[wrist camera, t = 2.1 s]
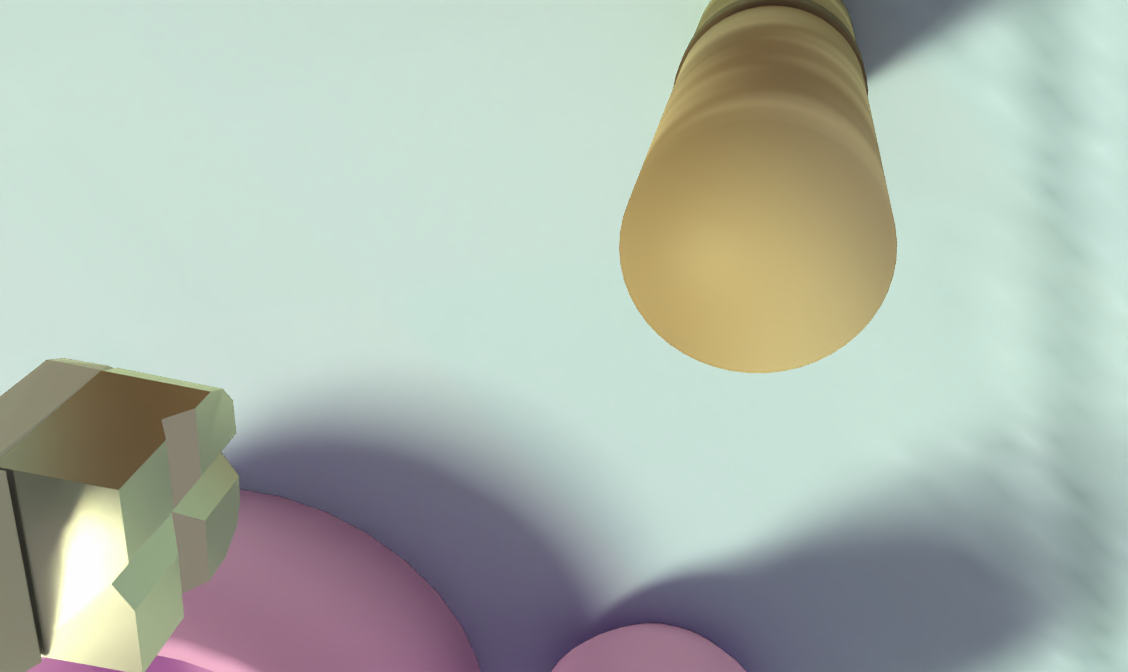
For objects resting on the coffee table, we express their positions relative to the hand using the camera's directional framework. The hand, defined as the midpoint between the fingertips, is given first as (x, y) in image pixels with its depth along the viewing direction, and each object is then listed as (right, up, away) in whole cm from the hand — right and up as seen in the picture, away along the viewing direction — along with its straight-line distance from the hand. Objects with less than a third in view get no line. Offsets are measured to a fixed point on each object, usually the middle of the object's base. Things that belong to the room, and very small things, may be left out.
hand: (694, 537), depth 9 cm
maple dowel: (+4, +8, +16) cm, 18 cm away
